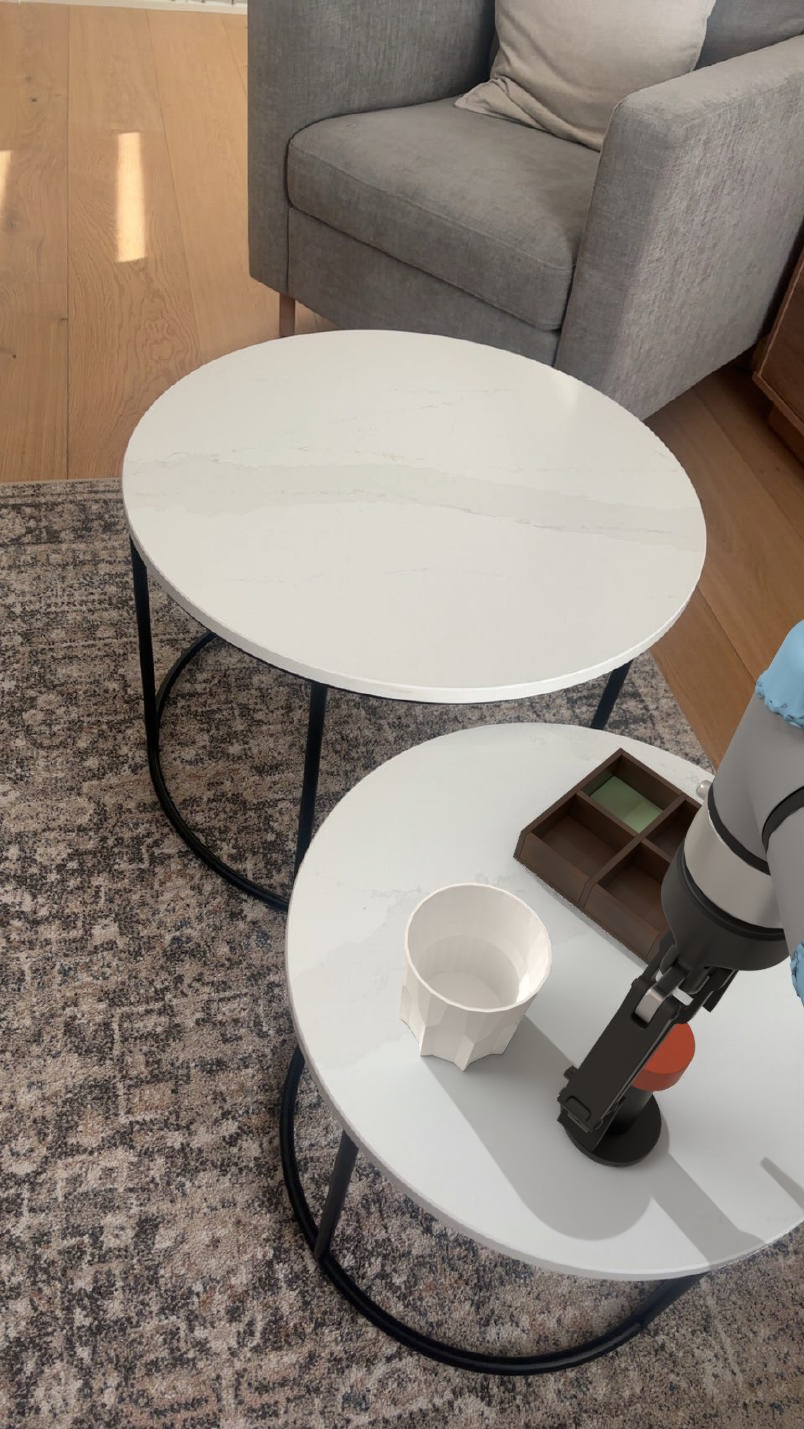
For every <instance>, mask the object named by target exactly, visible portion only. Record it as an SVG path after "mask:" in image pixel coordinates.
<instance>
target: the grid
mask: <svg viewBox="0 0 804 1429" xmlns="http://www.w3.org/2000/svg"><path fill="white" fill-rule="evenodd" d="M702 805H703V804H702V803H700V802H699V801H698V800H696V799H694V798H693V797H692V796H691V795H689V794H687V793H686V792H684V791H683V790H682V789H680V788H679V787H678V786H676V785H675V784H673V783H672V782H671V781H669V780H668V779H666V778H665V777H664V776H662V775H661V774H659V773H658V772H656V771H655V770H654V769H652V768H651V767H649V766H648V765H646V764H645V763H644V762H642V760H641V761H640V760H639V759H638V758H636V757H635V756H634V755H632V754H630V753H629V752H628V751H626V750H625V749H624V748H622V747H619V748H618V749H616V751H614V752H613V753H612V754H610V755H609V756H608V757H607V758H605V760H603V761H602V762H601V763H600V764H599V765H598V766H596V767H595V768H594V769H593V770H592V771H591V772H589V773H588V774H587V775H586V776H585V777H583V778H582V779H580V781H578V782H577V783H576V784H575V785H574V786H572V788H570V789H569V790H568V791H566V793H564V794H563V795H562V796H561V797H559V798H558V799H557V800H556V801H555V802H554V803H553V804H551V805H550V806H548V808H546V809H545V810H544V811H543V812H542V813H541V814H539V815H538V816H537V817H535V818H534V819H533V820H532V821H531V822H530V823H528V824H527V825H526V826H524V828H522V829H521V830H520V831H519V836H518V839H517V842H516V846H515V849H514V852H513V855H512V857H513V858H514V859H516V860H517V862H519V863H520V864H522V865H523V866H524V867H525V868H527V870H529V871H530V872H532V873H533V874H534V875H535V876H537V877H538V878H539V879H540V880H542V881H543V882H544V883H545V884H547V885H548V886H549V887H550V888H552V889H553V890H554V891H556V892H557V893H558V894H559V895H560V896H561V897H563V898H564V899H565V900H566V901H568V902H569V903H571V904H572V905H573V906H574V907H575V908H576V909H578V910H579V911H581V912H582V913H583V914H584V915H585V916H586V917H588V918H589V919H591V920H592V921H593V922H594V923H595V924H596V925H598V926H599V927H600V928H602V929H603V930H604V931H606V932H607V933H608V934H609V935H610V936H612V937H613V938H614V939H615V940H617V941H618V942H619V943H620V944H622V945H623V946H624V947H625V948H627V949H628V950H629V951H631V952H632V954H634V955H636V956H637V957H638V958H639V959H640V960H642V961H643V963H645V964H647V966H648V965H649V964H650V962H651V961H652V960H653V958H654V957H655V956H656V954H657V953H658V951H659V943H660V941H661V939H662V938H663V937H664V935H665V934H666V933H667V931H668V930H669V929H670V926H669V923H668V921H667V919H666V916H665V914H664V911H663V907H662V901H661V888H662V882H663V879H664V876H665V874H666V872H667V870H668V868H669V866H670V864H671V862H672V860H673V858H674V856H675V854H676V852H677V850H678V848H679V846H680V844H681V842H682V840H683V839H684V838H685V836H686V835H687V832H688V830H689V828H690V826H691V824H692V822H693V820H694V818H695V816H696V814H697V812H698V811H699V809H700V808H701V807H702Z"/></svg>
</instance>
